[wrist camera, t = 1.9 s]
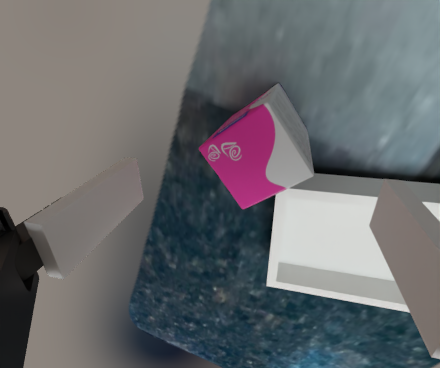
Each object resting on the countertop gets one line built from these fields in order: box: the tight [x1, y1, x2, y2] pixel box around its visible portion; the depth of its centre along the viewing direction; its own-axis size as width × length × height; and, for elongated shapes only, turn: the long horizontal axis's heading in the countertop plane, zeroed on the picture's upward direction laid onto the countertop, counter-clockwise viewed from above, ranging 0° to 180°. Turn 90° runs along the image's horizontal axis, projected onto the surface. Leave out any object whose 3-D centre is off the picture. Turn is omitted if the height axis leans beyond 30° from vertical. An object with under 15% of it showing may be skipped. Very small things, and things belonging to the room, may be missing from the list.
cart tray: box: [267, 173, 440, 312], centre depth 26 cm, size 19×13×6 cm
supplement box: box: [199, 83, 314, 209], centre depth 21 cm, size 6×6×12 cm
